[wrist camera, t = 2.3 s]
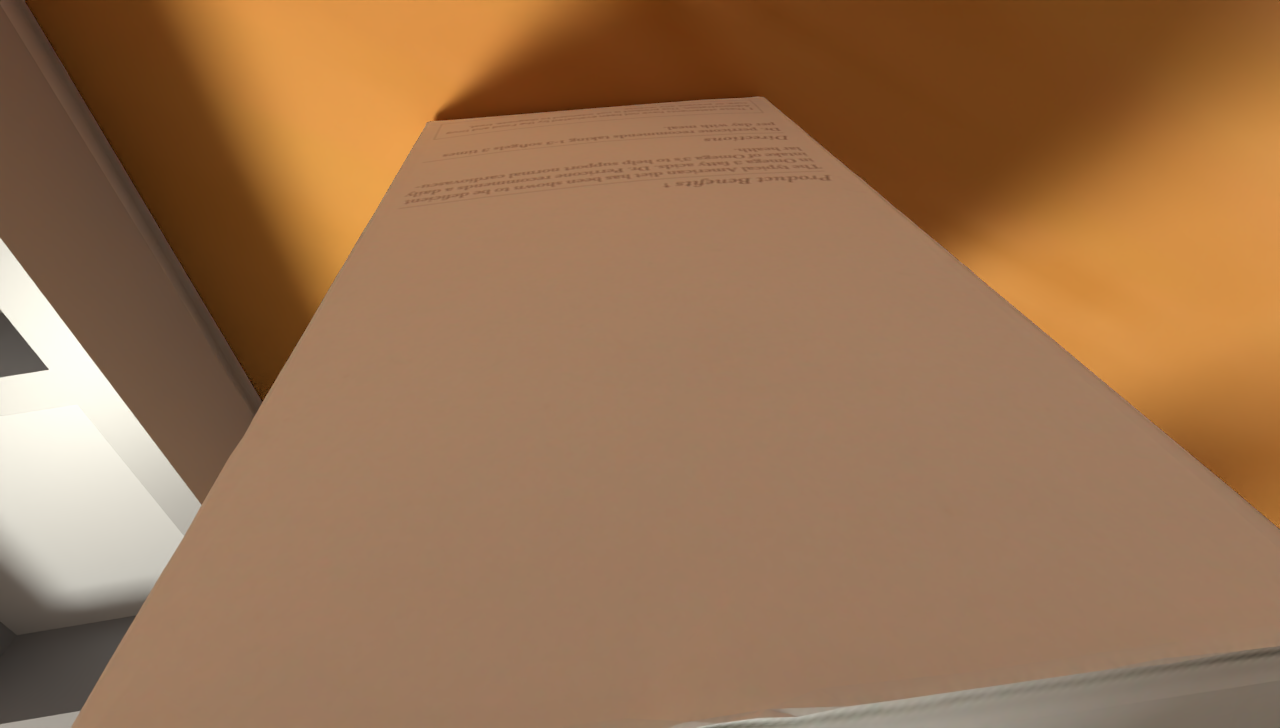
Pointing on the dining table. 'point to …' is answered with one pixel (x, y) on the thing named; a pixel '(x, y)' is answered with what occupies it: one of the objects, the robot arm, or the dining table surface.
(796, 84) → the dining table surface
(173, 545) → the tray
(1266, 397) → the dining table surface
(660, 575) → the supplement box
